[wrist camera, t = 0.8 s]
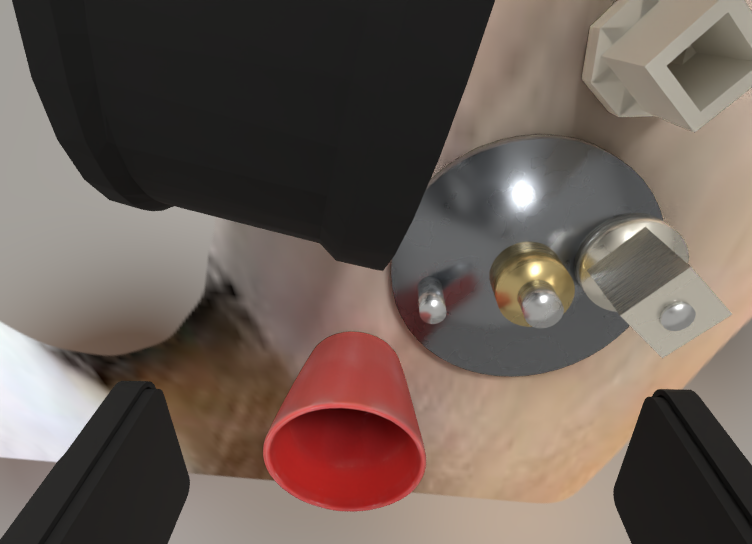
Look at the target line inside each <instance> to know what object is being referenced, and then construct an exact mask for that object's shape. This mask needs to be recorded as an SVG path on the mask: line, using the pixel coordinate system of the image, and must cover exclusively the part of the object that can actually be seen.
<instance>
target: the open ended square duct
mask: <svg viewBox="0 0 752 544" xmlns="http://www.w3.org/2000/svg"><path fill="white" fill-rule="evenodd" d="M582 80H583V81H584V83H585V84H586V85H587V86H588V88H589V89H590V90H591V91H592V92H593V94H594V95H595V96H596V97H597V98H598V100H599V101H600V102H601V103H602V105H603V106H604V107H605V108H606V109H607V111H608V112H609V113H611V114H613V115H615V116H617V117H648V116H656V117H659V118H661V119H663V120H666V121H668V122H671V123H673V124H675V125H678V126H680V127H682V128H685V129H687V130H689V131H692V132H694V133H695V132H696V131H697V130H699V129H700V128H701V127H702V126H704V125H705V124H706V123H707V122H709V121H710V120H711V119H712V118H714V117H715V116H716V115H717V114H719V113H720V112H721V111H722V110H724V109H725V108H726V107H727V106H729V105H730V104H731V103H733V102H734V101H735V100H736V99H738V98H739V97H740V96H741V95H743V94H744V93H745V92H746V91H748V90H749V89H750V88H751V87H752V11H751V10H750V8H749V6H748V5H747V3H746V2H745V0H617V1H616V2H615V3H614V4H613V5H612V6H611V7H610V8H609V9H608V10H607V11H606V12H605V13H604V14H603V15H602V16H601V17H600V18H599V19H597V20H596V21H595V22H594V23H593V24H592V25H591V26H590V29H589V35H588V42H587V48H586V54H585V61H584V67H583V73H582Z"/></svg>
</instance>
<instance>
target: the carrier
mask: <svg viewBox="0 0 752 544" xmlns="http://www.w3.org/2000/svg"><path fill="white" fill-rule="evenodd" d="M688 260H689V254H688V248H687V245H686V243H685V241H684V239H683V238H682V236H681V235H680V234H679V233H678V232H677V231H675V230H674V229H673V228H672V227H670V226H669V225H668V224H667V223H665V222H664V221H663V218H662V214H661V211H660V208H659V206H658V203H657V201H656V199H655V197H654V195H653V193H652V192H651V190H650V189H649V187H648V186H647V185H646V183H645V182H644V180H643V179H642V178H641V177H640V176H639V175H638V174H637V173H636V172H635V171H634V170H633V169H632V168H631V167H629V166H628V165H627V164H625V163H624V162H622V161H621V160H620V159H618V158H617V157H615V156H614V155H612V154H611V153H610V152H608V151H606V150H604V149H602V148H600V147H598V146H596V145H594V144H591V143H588V142H585V141H582V140H579V139H576V138H571V137H565V136H559V135H542V134H535V135H524V136H516V137H511V138H507V139H502V140H498V141H495V142H492V143H489V144H487V145H484V146H481V147H478V148H476V149H474V150H472V151H470V152H468V153H466V154H464V155H462V156H461V157H459V158H458V159H456V160H455V161H453V162H452V163H450V164H448V165H447V166H445V167H444V168H443V169H442V170H441V171H440V172H438V173H437V174H436V175H435V176H434V177H433V178H431V179H430V181H429V183H428V186H427V188H426V191H425V193H424V195H423V198H422V200H421V203H420V205H419V207H418V210H417V212H416V214H415V217H414V219H413V221H412V223H411V225H410V227H409V229H408V231H407V233H406V235H405V237H404V239H403V240H402V242H401V244H400V246H399V248H398V250H397V252H396V254H395V256H394V257H393V258H392V264H391V278H392V288H393V293H394V297H395V301H396V305H397V307H398V310H399V312H400V314H401V317H402V318H403V320H404V322H405V323H406V325H407V327H408V328H409V330H410V331H411V332H412V333H413V335H414V336H415V337H416V338H417V339H418V341H420V342H421V343H422V344H423V345H424V346H425V347H426V348H427V349H428V350H430V351H431V352H433V353H434V354H435V355H437V356H438V357H440V358H441V359H443V360H445V361H447V362H449V363H451V364H453V365H455V366H458V367H461V368H463V369H466V370H469V371H473V372H477V373H481V374H487V375H494V376H528V375H534V374H541V373H546V372H549V371H553V370H557V369H560V368H563V367H566V366H569V365H572V364H574V363H576V362H579V361H581V360H583V359H585V358H587V357H589V356H591V355H592V354H594V353H596V352H597V351H599V350H601V349H602V348H604V347H605V346H607V345H608V344H609V343H611V342H612V341H613V340H615V339H616V338H617V337H618V336H619V335H620V334H621V333H623V332H624V331H625V330H626V329H627V328H628V327H629V326H631V327H632V328H633V329H634V330H635V331H636V332H637V333H638V334H639V335H640V336H641V337H642V338H643V339H644V340H645V341H646V342H647V343H648V344H649V345H650V346H651V347H652V348H653V349H654V350H655V351H656V352H657V353H658V354H659V355H660V356H661V357H662V358H663V357H665V356H667V355H668V354H670V353H671V352H673V351H675V350H676V349H678V348H679V347H681V346H683V345H684V344H686V343H687V342H689V341H691V340H692V339H694V338H695V337H697V336H699V335H700V334H702V333H703V332H705V331H707V330H708V329H710V328H711V327H713V326H715V325H716V324H718V323H719V322H721V321H723V320H724V319H726V318H727V317H729V316H731V315H732V313H731V312H730V311H729V310H728V309H727V308H726V306H725V305H724V304H723V303H722V302H721V301H720V299H719V298H718V297H717V296H716V295H715V294H714V293H713V291H712V290H711V289H710V288H709V287H708V286H707V284H706V283H705V282H704V281H703V280H702V279H701V278H700V276H699V275H698V274H697V273H696V272H695V271H694V269H693V268H692V267H691V266H690V265H689V264H688Z"/></svg>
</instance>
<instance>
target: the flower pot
mask: <svg viewBox="0 0 752 544" xmlns="http://www.w3.org/2000/svg"><path fill="white" fill-rule="evenodd" d="M263 456H264V462H265V465H266V468H267V470H268V471H269V473H270V475H271V476H272V478H273V479H274V480H275V481H276V482H277V483H278V484H279V485H280V486H281V487H282V488H283V489H284V490H286V491H287V492H288V493H290V494H291V495H293V496H295V497H296V498H298V499H300V500H302V501H304V502H306V503H309V504H312V505H315V506H318V507H322V508H326V509H330V510H336V511H365V510H372V509H376V508H381V507H384V506H387V505H390V504H392V503H395V502H396V501H399V500H401V499H402V498H404V497H406V496H407V495H408V494H410V493H411V492H412V491H413V490H414V489H415V488H416V487H417V485H418V484H419V483H420V481H421V479H422V477H423V475H424V472H425V468H426V454H425V449H424V445H423V441H422V437H421V433H420V430H419V426H418V422H417V419H416V415H415V411H414V408H413V404H412V400H411V397H410V393H409V389H408V386H407V382H406V379H405V376H404V373H403V370H402V367H401V364H400V361H399V358H398V356H397V354H396V353H395V351H394V350H393V349H392V348H391V347H390V346H389V345H388V344H387V343H386V342H384V341H383V340H381V339H379V338H377V337H375V336H373V335H370V334H367V333H362V332H343V333H338V334H335V335H332V336H330V337H328V338H326V339H324V340H323V341H322V342H320V343H319V344H318V345H317V346H316V347H315V349H314V350H313V351H312V353H311V355H310V357H309V358H308V360H307V361H306V363H305V365H304V366H303V368H302V370H301V371H300V373H299V375H298V376H297V378H296V380H295V382H294V383H293V385H292V387H291V389H290V391H289V393H288V394H287V396H286V398H285V400H284V402H283V404H282V406H281V407H280V409H279V411H278V413H277V415H276V417H275V419H274V421H273V423H272V425H271V427H270V429H269V431H268V434H267V436H266V438H265V441H264V447H263Z"/></svg>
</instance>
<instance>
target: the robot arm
mask: <svg viewBox="0 0 752 544" xmlns="http://www.w3.org/2000/svg"><path fill="white" fill-rule="evenodd" d="M189 485H190V480H189V475H188V472H187V468H186V465H185V462H184V459H183V455H182V452H181V449H180V446H179V442H178V439H177V436H176V433H175V429H174V426H173V423H172V420H171V416H170V413H169V410H168V406H167V403H166V400H165V397H164V394H163V392H162V390H161V389H156V388H155V385H154V384H153V383H152V382H148V381H120V382H118V383H117V384H116V385H115V386H114V387H113V389H112V390H111V391H110V393H109V394H108V395H107V397H106V398H105V400H104V401H103V402H102V404H101V405H100V406H99V408H98V409H97V410H96V412H95V413H94V415H93V416H92V417H91V419H90V420H89V421H88V423H87V424H86V426H85V427H84V428H83V430H82V431H81V432H80V434H79V435H78V437H77V438H76V439H75V441H74V442H73V443H72V445H71V446H70V447H69V449H68V450H67V452H66V453H65V454H64V455H63V456H62V457H61V459H60V460H59V461H58V462H57V463H56V465H55V466H54V467H53V469H52V470H51V471H50V473H49V474H48V475H47V477H46V478H45V480H44V481H43V482H42V484H41V485H40V486H39V488H38V489H37V490H36V492H35V493H34V494H33V496H32V497H31V499H30V500H29V501H28V503H27V504H26V505H25V507H24V508H23V509H22V511H21V512H20V513H19V515H18V516H17V518H16V519H15V520H14V522H13V523H12V524H11V526H10V527H9V529H8V530H7V531H6V533H5V534H4V535H3V537H2V538H1V539H0V544H168V541H169V539H170V536H171V534H172V532H173V529H174V527H175V525H176V522H177V520H178V517H179V515H180V513H181V510H182V508H183V506H184V503H185V501H186V498H187V496H188V492H189ZM613 495H614V501H615V506H616V508H617V511H618V513H619V515H620V518H621V520H622V522H623V525H624V527H625V529H626V532H627V534H628V536H629V538H630V541H631V543H632V544H752V465H751V464H750V463H749V461H748V460H747V459H746V458H745V456H744V455H743V453H742V452H741V451H740V450H739V448H738V447H737V446H736V444H735V443H734V442H733V440H732V439H731V438H730V436H729V435H728V434H727V432H726V431H725V430H724V429H723V427H722V426H721V425H720V423H719V422H718V421H717V419H716V418H715V417H714V416H713V414H712V413H711V411H710V410H709V409H708V408H707V406H706V405H705V404H704V402H703V401H702V400H701V398H700V397H699V396H698V395H697V394H696V393H695V392H694V391H692V390H670V389H659V390H657V391H655V392H654V394H653V396H652V397H647V398H646V399H645V401H644V403H643V406H642V409H641V411H640V414H639V417H638V420H637V423H636V426H635V429H634V432H633V434H632V437H631V440H630V443H629V446H628V449H627V452H626V455H625V458H624V460H623V463H622V466H621V469H620V472H619V475H618V478H617V481H616V483H615V486H614V494H613Z"/></svg>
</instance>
